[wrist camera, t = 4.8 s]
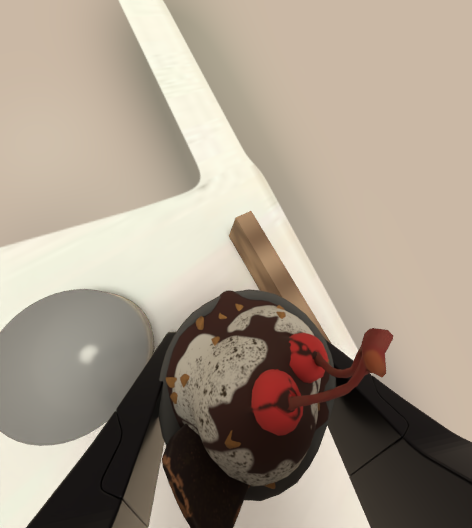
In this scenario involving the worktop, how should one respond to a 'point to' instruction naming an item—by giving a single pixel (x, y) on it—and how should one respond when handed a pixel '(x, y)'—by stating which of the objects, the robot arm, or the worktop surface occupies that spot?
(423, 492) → the robot arm
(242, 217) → the brown wooden plank
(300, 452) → the sundae
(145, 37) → the worktop surface
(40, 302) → the slate plinth
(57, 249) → the worktop surface
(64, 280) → the worktop surface
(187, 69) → the worktop surface
